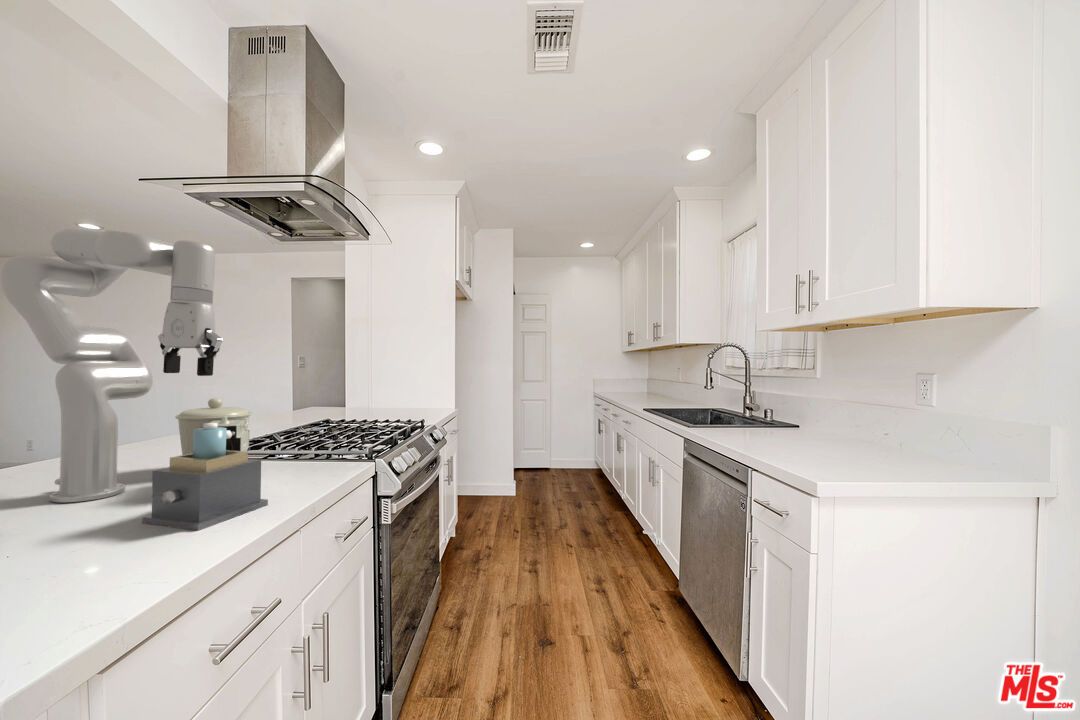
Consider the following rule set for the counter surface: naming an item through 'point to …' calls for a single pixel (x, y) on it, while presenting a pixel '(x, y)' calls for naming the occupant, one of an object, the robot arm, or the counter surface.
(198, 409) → the canister
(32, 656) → the counter surface
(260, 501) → the grey box
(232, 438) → the cream boxy piece
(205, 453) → the drain pump
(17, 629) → the counter surface
